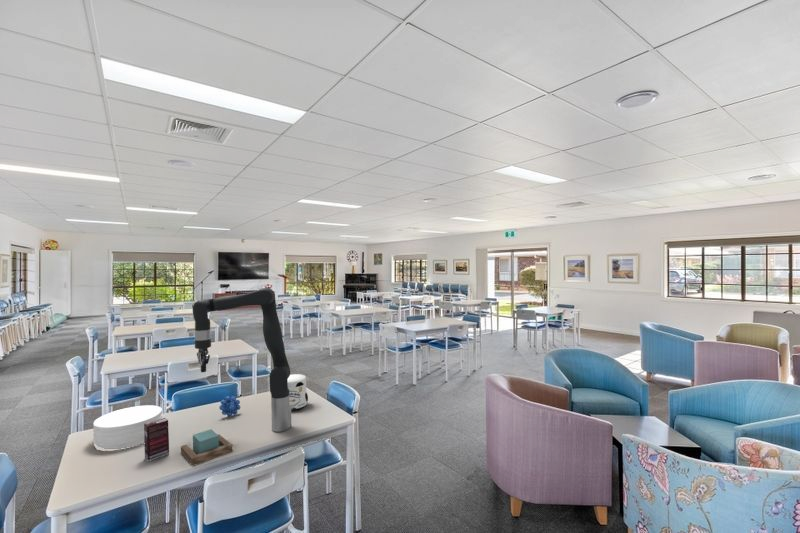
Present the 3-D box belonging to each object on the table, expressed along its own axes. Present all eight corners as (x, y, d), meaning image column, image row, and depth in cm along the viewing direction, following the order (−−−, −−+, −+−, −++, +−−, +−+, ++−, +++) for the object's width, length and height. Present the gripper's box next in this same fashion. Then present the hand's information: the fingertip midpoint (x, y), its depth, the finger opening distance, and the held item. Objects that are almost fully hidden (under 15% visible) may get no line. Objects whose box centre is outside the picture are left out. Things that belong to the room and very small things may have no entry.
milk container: (286, 415, 212) (285, 384, 212) (273, 407, 225) (273, 377, 225) (313, 407, 224) (312, 377, 224) (299, 400, 237) (299, 372, 237)
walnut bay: (219, 440, 182) (219, 434, 182) (232, 451, 171) (232, 444, 171) (180, 452, 170) (180, 446, 170) (192, 465, 159) (192, 458, 159)
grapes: (222, 421, 205) (221, 400, 205) (218, 418, 210) (217, 397, 210) (243, 415, 213) (243, 394, 213) (238, 412, 218) (238, 392, 218)
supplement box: (165, 451, 172) (165, 417, 172) (169, 454, 169) (168, 419, 169) (143, 458, 165) (143, 423, 165) (147, 462, 162) (147, 426, 162)
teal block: (211, 445, 177) (211, 429, 177) (218, 452, 170) (218, 435, 170) (193, 451, 171) (192, 434, 171) (200, 459, 164) (199, 441, 164)
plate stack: (146, 422, 206) (145, 401, 206) (173, 433, 192) (172, 411, 192) (83, 443, 182) (83, 420, 182) (108, 457, 168) (108, 432, 168)
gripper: (215, 338, 188) (215, 372, 188) (206, 335, 198) (206, 368, 197) (199, 341, 183) (199, 375, 183) (190, 338, 192) (191, 371, 192)
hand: (203, 371), depth 190 cm, fingers closed
